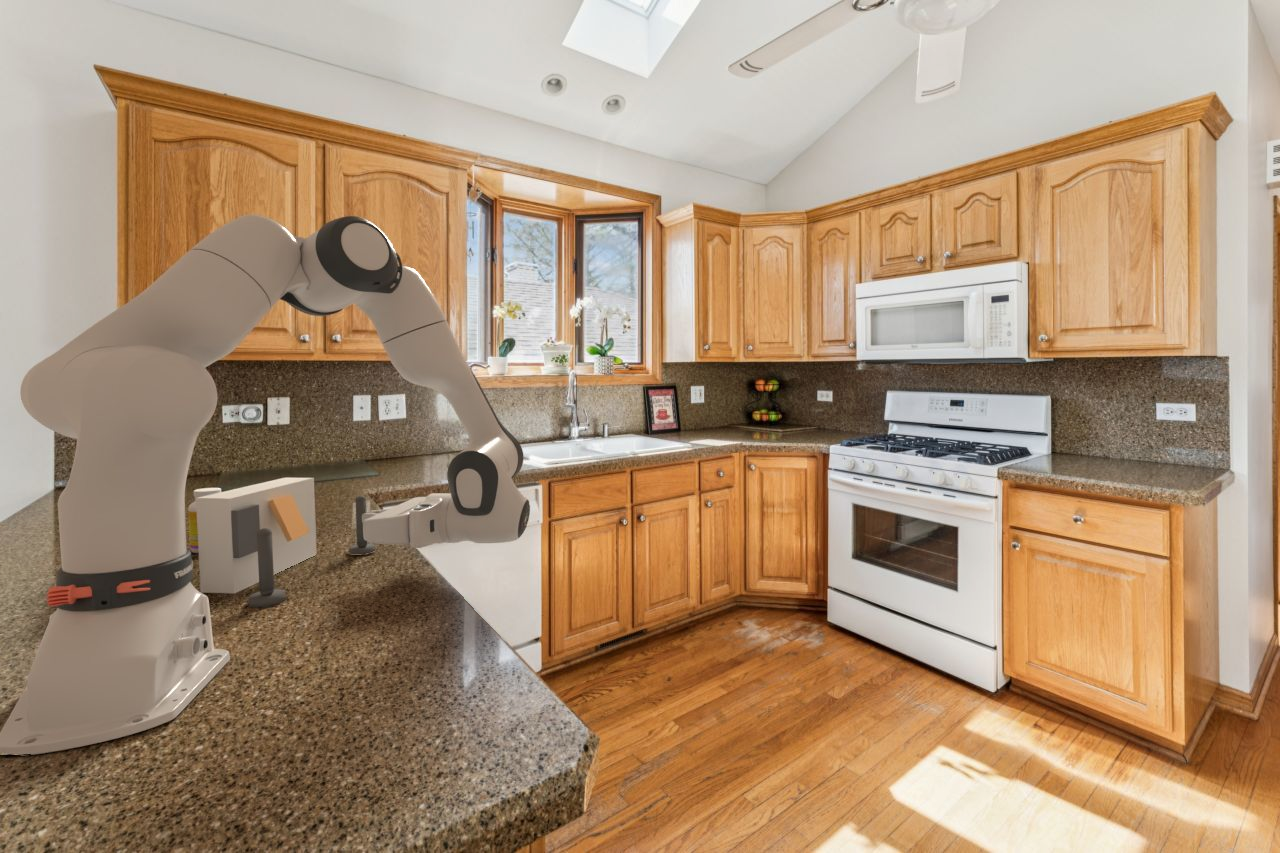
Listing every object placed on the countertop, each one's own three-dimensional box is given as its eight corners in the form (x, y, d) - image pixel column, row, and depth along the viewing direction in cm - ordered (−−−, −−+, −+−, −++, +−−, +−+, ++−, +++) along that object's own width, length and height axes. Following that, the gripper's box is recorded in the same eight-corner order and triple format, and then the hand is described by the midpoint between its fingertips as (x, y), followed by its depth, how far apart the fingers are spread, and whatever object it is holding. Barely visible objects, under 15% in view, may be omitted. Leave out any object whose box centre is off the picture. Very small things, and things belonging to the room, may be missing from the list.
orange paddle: (309, 532, 110) (291, 494, 110) (292, 539, 105) (272, 499, 105) (305, 534, 111) (286, 496, 110) (287, 541, 106) (267, 501, 105)
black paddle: (260, 549, 102) (258, 504, 102) (239, 558, 97) (236, 510, 97) (255, 549, 102) (253, 504, 102) (233, 558, 97) (231, 510, 97)
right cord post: (375, 554, 121) (374, 496, 120) (348, 557, 119) (347, 498, 118) (375, 548, 125) (373, 492, 125) (349, 550, 123) (347, 494, 122)
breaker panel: (316, 555, 120) (313, 477, 119) (234, 593, 98) (230, 498, 97) (288, 554, 120) (285, 477, 119) (200, 592, 98) (195, 497, 97)
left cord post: (283, 604, 93) (280, 529, 92) (246, 609, 91) (242, 533, 90) (287, 594, 98) (284, 523, 97) (251, 599, 95) (248, 526, 95)
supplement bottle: (214, 554, 120) (211, 492, 120) (182, 554, 121) (178, 492, 120) (236, 545, 127) (234, 486, 126) (206, 545, 127) (203, 486, 126)
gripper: (460, 489, 116) (393, 488, 117) (413, 513, 96) (332, 512, 97) (461, 521, 117) (394, 520, 118) (415, 551, 96) (334, 549, 97)
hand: (366, 516), depth 107 cm, fingers closed
